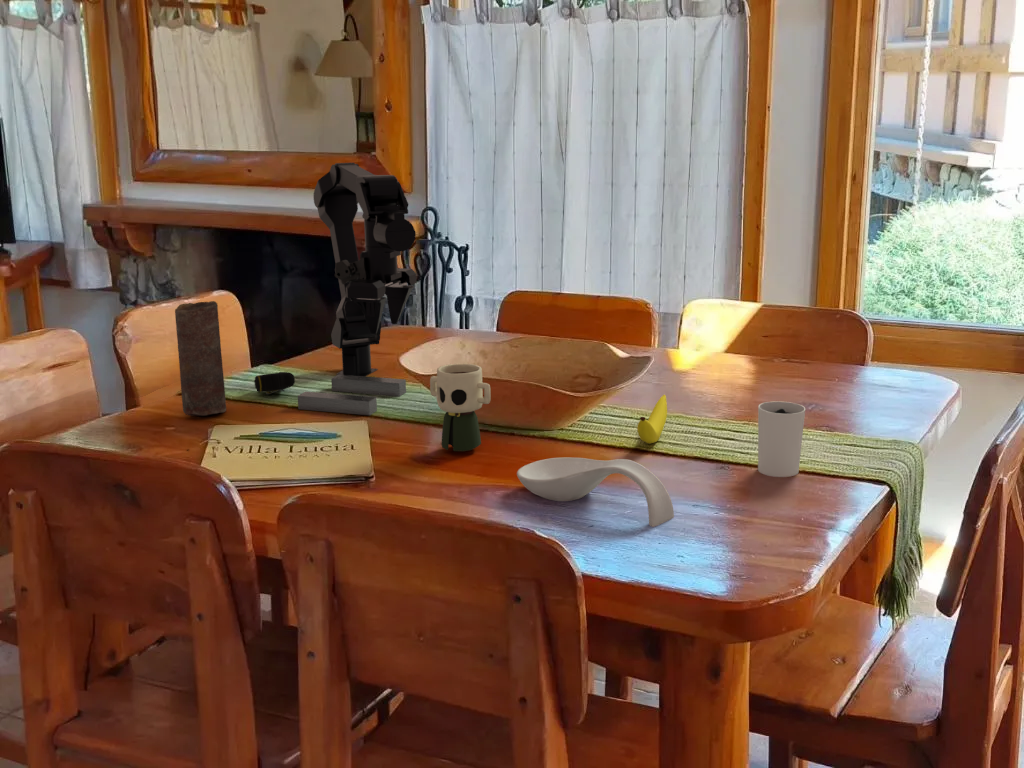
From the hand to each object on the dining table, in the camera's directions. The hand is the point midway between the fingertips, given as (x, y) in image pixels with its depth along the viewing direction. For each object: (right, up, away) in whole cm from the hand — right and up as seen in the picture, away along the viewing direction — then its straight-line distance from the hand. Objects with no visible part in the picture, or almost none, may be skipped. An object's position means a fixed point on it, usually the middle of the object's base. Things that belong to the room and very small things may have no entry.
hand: (384, 328), depth 202 cm
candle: (-30, -16, -12) cm, 36 cm away
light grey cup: (+63, -24, -44) cm, 80 cm away
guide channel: (-5, -13, -3) cm, 15 cm away
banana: (+47, -19, -27) cm, 58 cm away
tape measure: (-18, -12, +1) cm, 21 cm away
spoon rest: (+35, -27, -55) cm, 70 cm away
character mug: (+16, -21, -31) cm, 41 cm away
